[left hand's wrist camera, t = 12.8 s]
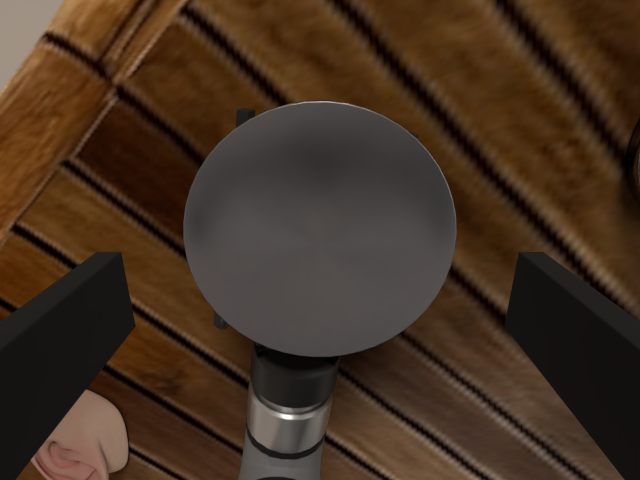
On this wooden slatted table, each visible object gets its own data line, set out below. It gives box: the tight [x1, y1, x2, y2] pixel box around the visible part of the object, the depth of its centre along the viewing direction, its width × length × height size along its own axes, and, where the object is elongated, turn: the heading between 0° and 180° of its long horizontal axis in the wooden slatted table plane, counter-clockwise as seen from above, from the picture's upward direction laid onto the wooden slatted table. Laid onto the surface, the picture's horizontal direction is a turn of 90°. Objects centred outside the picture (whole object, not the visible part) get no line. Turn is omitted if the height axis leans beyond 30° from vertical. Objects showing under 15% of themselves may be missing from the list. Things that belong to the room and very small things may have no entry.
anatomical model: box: [31, 389, 128, 480], centre depth 43 cm, size 13×4×12 cm
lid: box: [184, 100, 456, 357], centre depth 17 cm, size 11×11×2 cm
